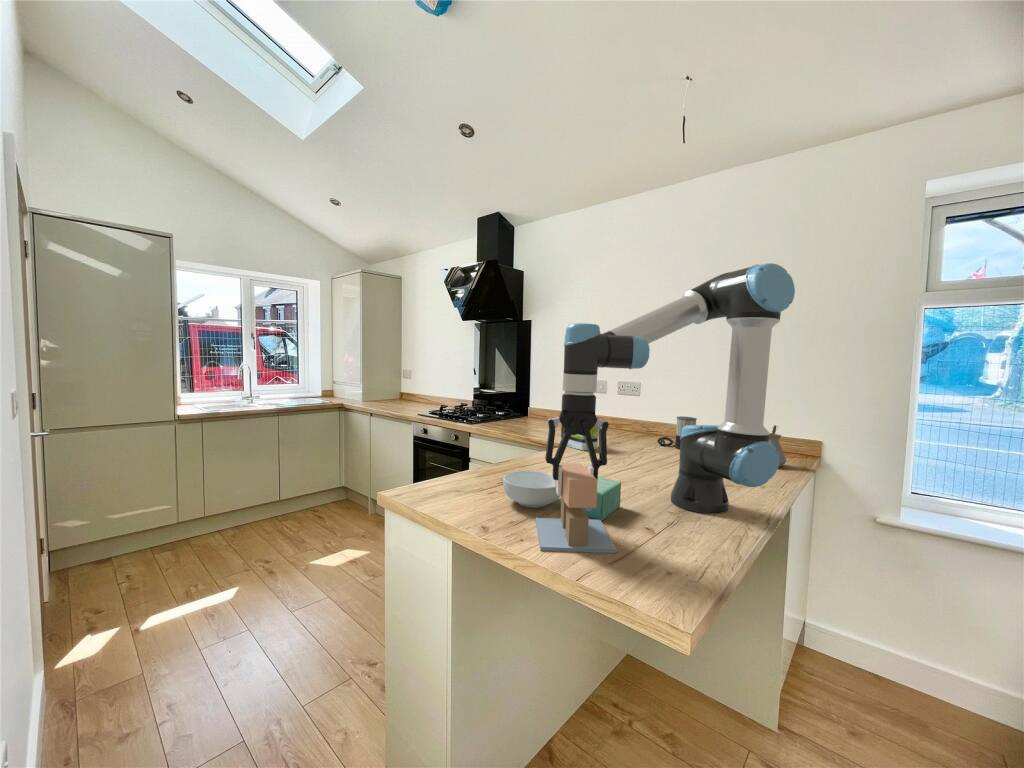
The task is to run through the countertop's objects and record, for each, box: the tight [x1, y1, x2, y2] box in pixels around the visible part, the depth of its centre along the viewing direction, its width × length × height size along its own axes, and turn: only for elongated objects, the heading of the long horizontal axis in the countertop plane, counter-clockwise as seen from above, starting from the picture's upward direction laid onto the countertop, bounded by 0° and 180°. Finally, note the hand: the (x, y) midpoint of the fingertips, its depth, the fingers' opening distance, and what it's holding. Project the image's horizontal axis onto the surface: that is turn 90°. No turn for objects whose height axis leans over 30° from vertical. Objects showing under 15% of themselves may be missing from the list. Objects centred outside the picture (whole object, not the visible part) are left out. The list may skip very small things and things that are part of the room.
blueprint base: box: [535, 496, 618, 554], centre depth 95 cm, size 16×16×7 cm
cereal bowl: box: [502, 470, 561, 509], centre depth 116 cm, size 17×17×7 cm
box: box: [581, 476, 622, 522], centre depth 112 cm, size 7×14×8 cm, turn 145°
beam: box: [555, 462, 598, 508], centre depth 95 cm, size 6×14×6 cm, turn 6°
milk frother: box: [657, 416, 698, 450], centre depth 202 cm, size 14×16×15 cm
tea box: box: [560, 416, 600, 451], centre depth 194 cm, size 15×10×15 cm
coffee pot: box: [769, 424, 787, 468], centre depth 174 cm, size 21×12×15 cm, turn 143°
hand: (574, 494), depth 95 cm, fingers closed on beam, 6 cm apart
